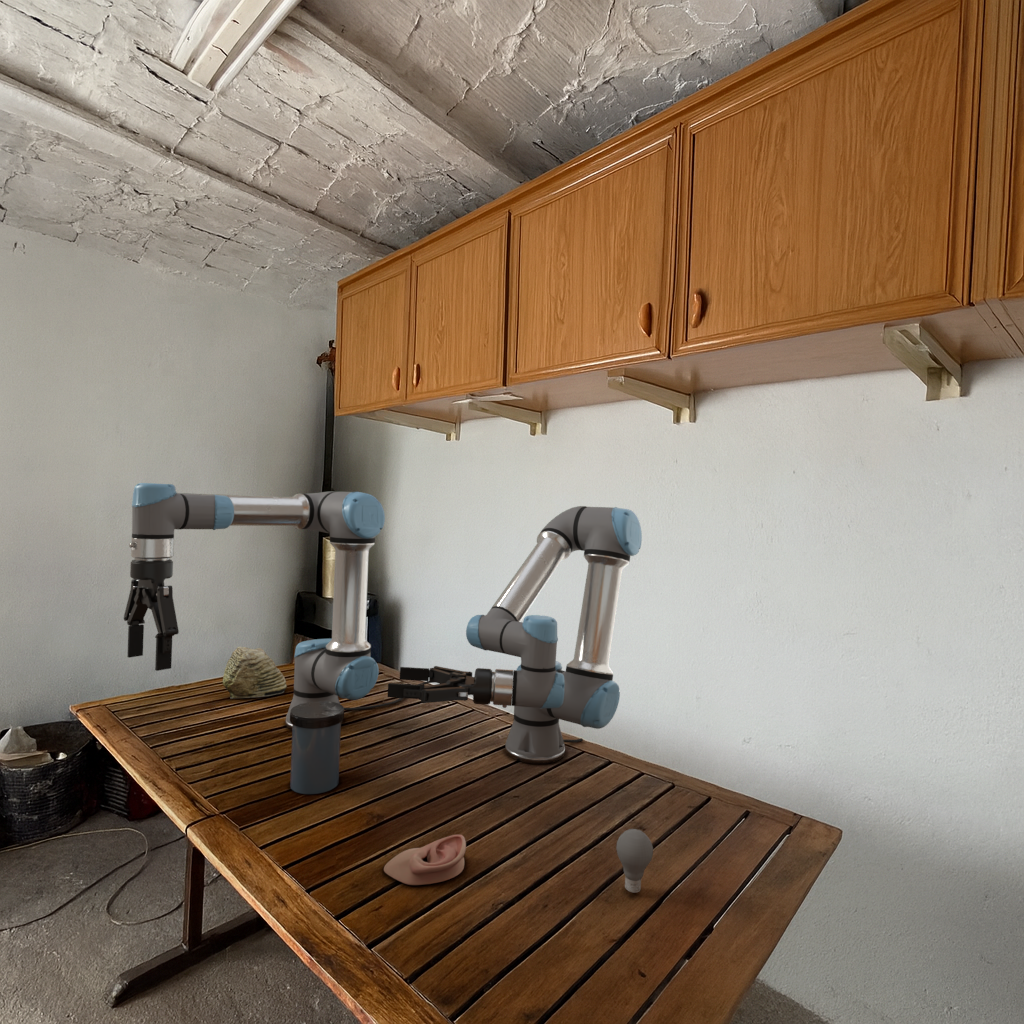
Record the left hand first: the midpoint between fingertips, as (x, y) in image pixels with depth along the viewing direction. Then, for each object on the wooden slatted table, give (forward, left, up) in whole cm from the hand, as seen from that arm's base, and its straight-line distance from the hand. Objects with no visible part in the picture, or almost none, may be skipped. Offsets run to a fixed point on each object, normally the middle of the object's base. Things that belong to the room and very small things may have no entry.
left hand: (148, 662), depth 129 cm
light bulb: (-41, +90, -28) cm, 103 cm away
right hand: (-36, +34, -4) cm, 50 cm away
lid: (-28, +19, -12) cm, 35 cm away
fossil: (-50, -47, -28) cm, 74 cm away
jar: (-28, +19, -28) cm, 44 cm away
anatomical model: (-22, +60, -28) cm, 70 cm away
